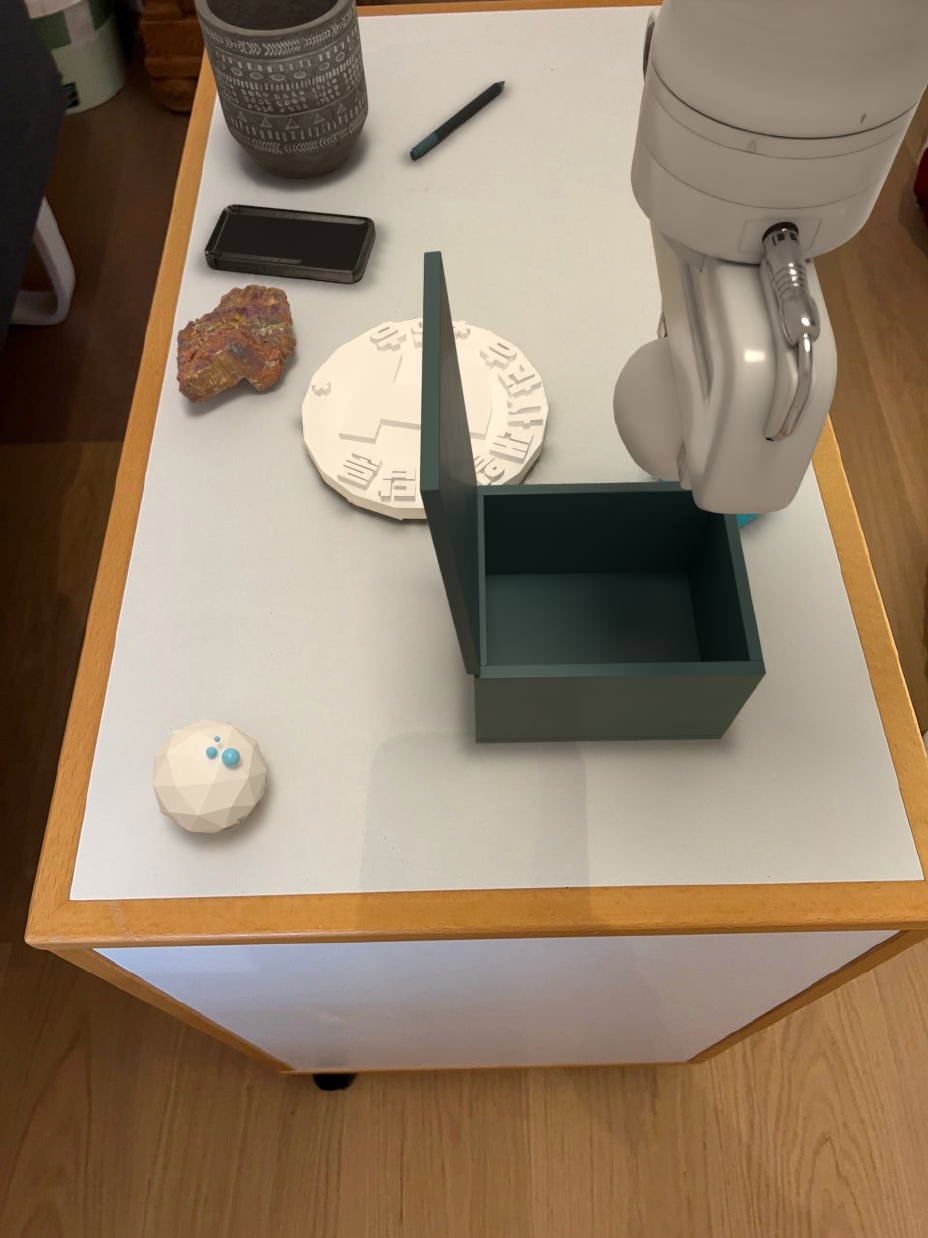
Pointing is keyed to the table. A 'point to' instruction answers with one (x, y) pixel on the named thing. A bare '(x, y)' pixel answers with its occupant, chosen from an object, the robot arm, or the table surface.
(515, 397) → the giant coin
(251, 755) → the ornament
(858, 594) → the table surface
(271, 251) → the phone
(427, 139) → the pen
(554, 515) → the chest
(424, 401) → the lid
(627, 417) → the plain white apple
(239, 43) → the planter
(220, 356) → the mineral specimen
